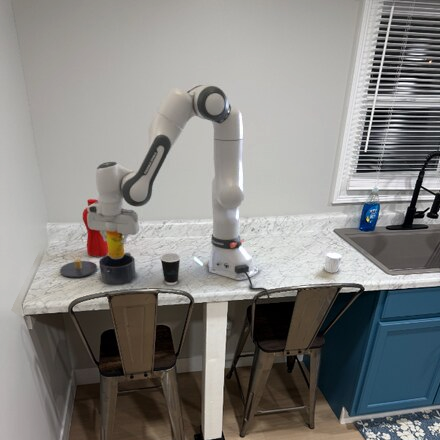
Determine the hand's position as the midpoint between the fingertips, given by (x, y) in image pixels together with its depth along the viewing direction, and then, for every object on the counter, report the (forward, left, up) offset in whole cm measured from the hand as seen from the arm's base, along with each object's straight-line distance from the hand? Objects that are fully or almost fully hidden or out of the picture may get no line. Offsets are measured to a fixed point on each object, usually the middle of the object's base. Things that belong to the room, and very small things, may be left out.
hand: (115, 242), depth 157 cm
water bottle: (+26, -9, -15) cm, 32 cm away
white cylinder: (-60, -69, -15) cm, 92 cm away
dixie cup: (-19, -12, -15) cm, 27 cm away
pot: (0, 0, -15) cm, 15 cm away
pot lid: (+16, +8, -15) cm, 23 cm away
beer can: (0, 0, -6) cm, 6 cm away
